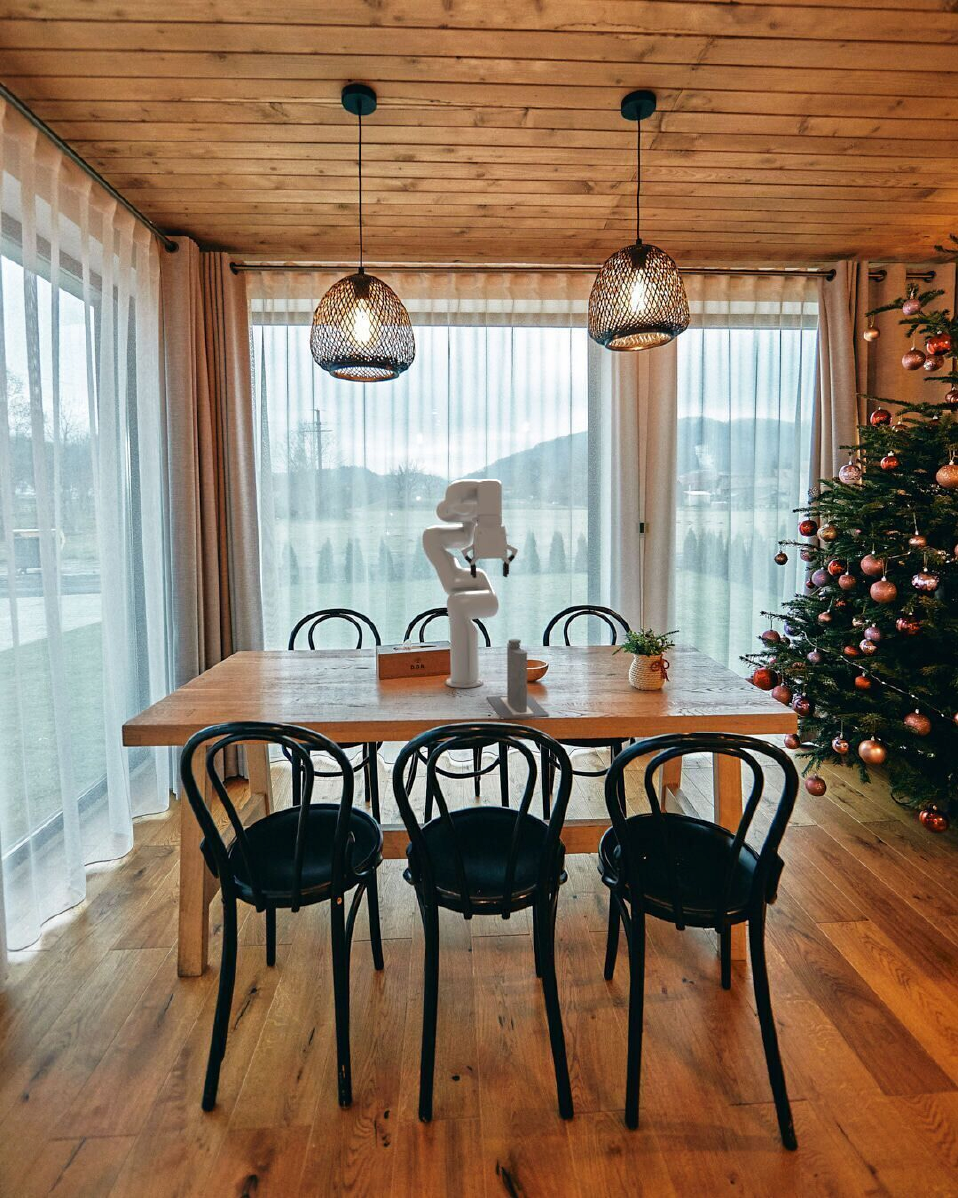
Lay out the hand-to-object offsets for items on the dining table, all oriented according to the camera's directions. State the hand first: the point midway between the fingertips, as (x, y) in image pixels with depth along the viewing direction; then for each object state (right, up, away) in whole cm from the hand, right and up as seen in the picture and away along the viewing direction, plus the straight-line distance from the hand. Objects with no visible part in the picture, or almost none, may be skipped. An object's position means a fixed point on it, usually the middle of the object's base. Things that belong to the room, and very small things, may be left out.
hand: (489, 577), depth 211 cm
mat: (+8, -39, -4) cm, 40 cm away
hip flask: (+8, -39, -3) cm, 40 cm away
